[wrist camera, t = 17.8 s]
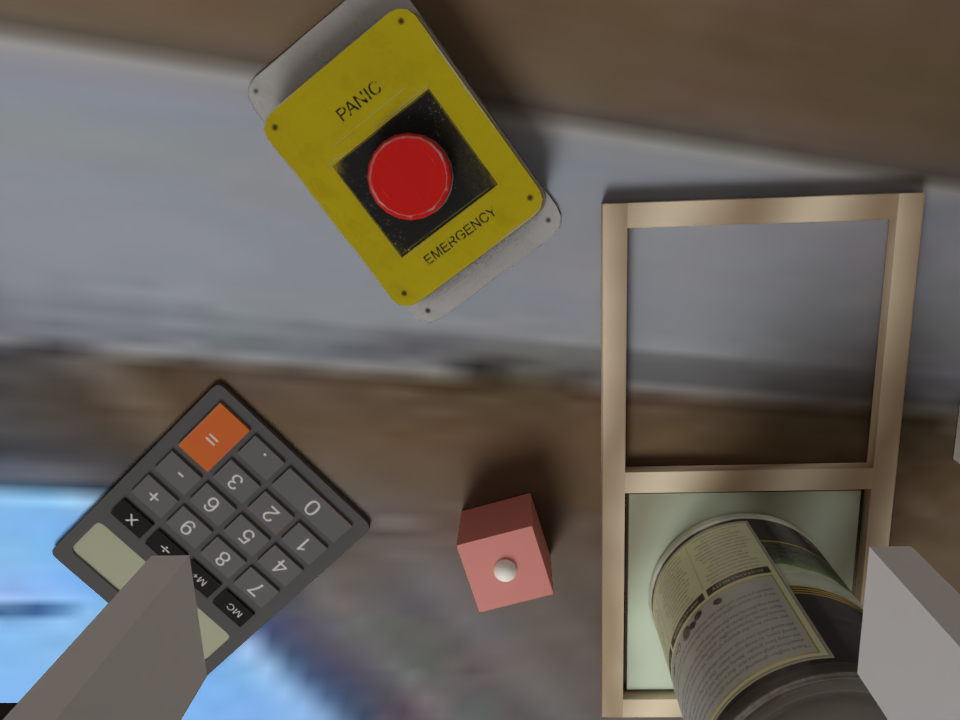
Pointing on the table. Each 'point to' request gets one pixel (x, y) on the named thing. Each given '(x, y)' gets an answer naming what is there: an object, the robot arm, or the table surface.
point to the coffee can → (758, 625)
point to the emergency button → (402, 155)
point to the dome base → (957, 442)
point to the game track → (738, 488)
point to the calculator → (218, 521)
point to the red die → (505, 553)
